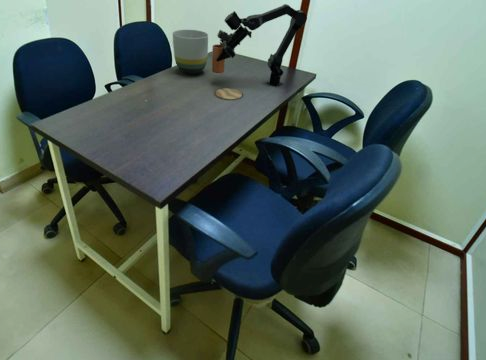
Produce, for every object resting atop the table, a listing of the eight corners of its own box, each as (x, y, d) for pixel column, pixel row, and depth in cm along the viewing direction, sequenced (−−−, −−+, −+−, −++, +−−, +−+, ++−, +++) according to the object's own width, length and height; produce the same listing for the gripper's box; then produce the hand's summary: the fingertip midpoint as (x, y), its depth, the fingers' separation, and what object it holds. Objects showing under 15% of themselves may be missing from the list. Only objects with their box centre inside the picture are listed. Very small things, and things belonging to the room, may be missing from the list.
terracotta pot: (217, 68, 168) (218, 43, 160) (226, 71, 165) (227, 46, 157) (209, 71, 163) (209, 45, 155) (218, 74, 160) (219, 48, 152)
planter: (168, 70, 179) (165, 31, 166) (195, 65, 190) (194, 28, 176) (187, 80, 168) (185, 39, 155) (214, 74, 179) (215, 36, 166)
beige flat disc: (227, 86, 165) (227, 86, 165) (247, 94, 159) (247, 93, 158) (209, 93, 156) (209, 92, 156) (230, 102, 150) (230, 101, 150)
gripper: (224, 20, 157) (203, 42, 162) (230, 29, 143) (207, 52, 148) (238, 37, 164) (217, 57, 169) (244, 46, 149) (222, 68, 154)
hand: (215, 58), depth 160 cm, fingers closed on terracotta pot, 7 cm apart
